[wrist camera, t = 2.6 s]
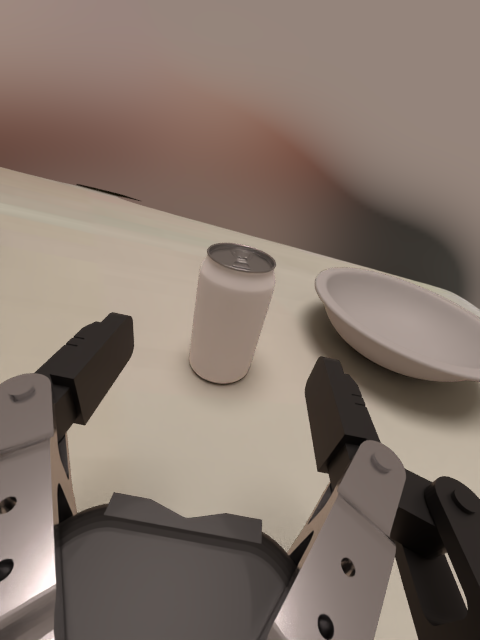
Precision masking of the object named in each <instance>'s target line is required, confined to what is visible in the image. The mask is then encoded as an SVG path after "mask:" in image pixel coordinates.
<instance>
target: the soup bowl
mask: <svg viewBox="0 0 480 640" xmlns="http://www.w3.org/2000/svg"><path fill="white" fill-rule="evenodd" d="M315 289H316V292H317V294H318V296H319V298H320V299H321V301H322V302H323V303H324V307H325V310H326V313H327V315H328V318H329V320H330V321H331V323H332V325H333V326H334V328H335V329H336V331H337V332H338V333H339V335H340V336H341V337H342V338H343V339H344V340H345V341H346V342H347V343H348V344H349V345H350V346H351V347H353V348H354V349H355V350H356V351H357V352H359V353H360V354H362V355H363V356H365V357H366V358H368V359H369V360H371V361H373V362H374V363H376V364H378V365H380V366H382V367H384V368H387V369H389V370H391V371H394V372H396V373H399V374H402V375H405V376H409V377H413V378H417V379H422V380H429V381H439V382H457V381H466V380H470V381H476V382H480V318H479V317H478V316H476V315H475V314H473V313H471V312H470V311H468V310H466V309H465V308H463V307H461V306H460V305H458V304H456V303H454V302H452V301H450V300H448V299H446V298H444V297H442V296H440V295H438V294H436V293H434V292H432V291H430V290H427V289H425V288H423V287H420V286H418V285H415V284H413V283H410V282H407V281H404V280H402V279H399V278H396V277H392V276H389V275H386V274H382V273H378V272H374V271H369V270H364V269H358V268H348V267H336V268H329V269H326V270H323V271H321V272H320V273H319V274H318V275H317V277H316V279H315Z"/></svg>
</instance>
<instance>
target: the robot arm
mask: <svg viewBox="0 0 480 640" xmlns="http://www.w3.org/2000/svg"><path fill="white" fill-rule="evenodd" d="M133 349H134V335H133V319H132V317H131V316H128V315H123V314H118V313H113V312H112V313H110V314H109V315H108V316H107V317H106V318H105V319H104V320H103V321H102V322H94V323H92V324H90V325H87V326H85V327H83V328H82V329H81V330H80V331H79V332H78V333H77V334H76V335H75V336H74V338H71V339H70V340H69V341H68V342H67V343H66V345H64V346H63V347H62V348H61V349H60V350H58V351H57V352H56V353H55V354H54V355H53V356H52V357H51V358H50V359H49V360H48V361H47V362H46V363H44V364H43V365H42V366H41V367H40V368H39V369H38V370H37V371H36V372H35V373H30V374H22V375H19V376H16V377H13V378H10V379H8V380H6V381H5V382H3V383H1V384H0V640H374V636H375V632H376V628H377V625H378V621H379V617H380V613H381V609H382V605H383V601H384V597H385V593H386V589H387V585H388V581H389V577H390V573H391V570H392V566H393V562H394V558H396V561H397V565H398V568H399V572H400V576H401V579H402V583H403V586H404V590H405V593H406V597H407V600H408V604H409V608H410V611H411V615H412V618H413V622H414V625H415V629H416V632H417V636H418V640H480V499H479V498H478V497H477V496H476V495H475V494H474V493H473V492H472V491H471V490H470V489H469V488H468V487H467V486H465V485H464V484H462V483H461V482H459V481H457V480H455V479H453V478H450V477H446V476H442V477H439V478H438V479H436V480H435V481H434V482H430V481H428V480H426V479H424V478H422V477H420V476H418V475H416V474H414V473H412V472H410V471H408V470H407V469H405V468H404V466H403V464H402V462H401V461H400V459H399V458H398V457H397V455H396V454H395V453H394V452H393V451H392V450H391V449H389V448H388V447H387V446H385V445H384V444H382V443H381V442H380V440H379V437H378V435H377V432H376V430H375V427H374V425H373V422H372V420H371V417H370V415H369V412H368V410H367V407H365V402H364V400H363V398H362V395H361V392H360V390H359V387H358V385H357V384H356V383H355V381H354V380H353V379H352V378H351V377H350V375H348V374H344V372H343V369H342V366H341V364H340V362H339V360H335V359H330V358H326V357H319V358H318V360H317V362H316V364H315V366H314V368H313V370H312V372H311V374H310V376H309V378H308V380H307V383H306V387H305V398H306V404H307V410H308V416H309V422H310V428H311V434H312V440H313V447H314V453H315V459H316V465H317V471H318V472H322V473H328V474H329V478H330V482H329V484H328V485H327V487H326V489H325V490H324V492H323V494H322V496H321V497H320V499H319V501H318V503H317V504H316V506H315V508H314V510H313V512H312V513H311V515H310V517H309V519H308V520H307V522H306V524H305V526H304V527H303V529H302V531H301V532H300V534H299V535H298V537H297V538H296V539H295V541H294V542H293V544H292V546H291V547H290V549H289V550H288V552H287V553H286V551H285V550H284V549H283V548H282V547H281V546H280V545H279V544H278V543H277V542H276V541H275V540H273V539H272V538H271V537H269V536H268V535H267V534H265V533H263V532H262V520H260V519H254V518H249V517H244V516H238V515H233V514H228V513H224V514H216V515H209V516H201V517H193V518H185V517H182V516H180V515H179V514H177V513H175V512H173V511H171V510H170V509H168V508H166V507H164V506H162V505H160V504H159V503H157V502H155V501H153V500H151V499H147V498H142V497H136V496H131V495H126V494H120V493H115V492H114V493H113V496H112V498H111V500H110V502H109V504H103V505H99V506H95V507H92V508H89V509H86V510H84V511H81V512H79V513H77V509H76V502H75V497H74V493H73V487H72V479H71V469H70V458H69V448H68V437H67V431H68V429H69V428H70V427H71V425H72V424H73V423H76V424H81V425H86V423H87V422H88V420H89V419H90V417H91V416H92V414H93V413H94V411H95V410H96V408H97V407H98V405H99V404H100V402H101V401H102V399H103V398H104V396H105V395H106V393H107V392H108V390H109V389H110V388H111V386H112V385H113V383H114V382H115V380H116V379H117V377H118V376H119V374H120V373H121V371H122V370H123V368H124V367H125V365H126V364H127V362H128V361H129V359H130V358H131V355H132V353H133ZM445 553H448V555H449V558H450V560H451V562H452V565H453V567H454V570H455V572H456V574H457V577H458V579H459V582H460V584H461V586H462V589H463V591H464V594H465V596H466V600H467V605H468V611H467V608H466V606H465V603H464V601H463V598H462V596H461V594H460V591H459V589H458V586H457V584H456V581H455V579H454V576H453V574H452V571H451V569H450V567H449V564H448V562H447V559H446V557H445Z"/></svg>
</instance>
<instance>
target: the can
mask: <svg viewBox="0 0 480 640" xmlns="http://www.w3.org/2000/svg"><path fill="white" fill-rule="evenodd" d="M207 253H208V255H207V257H206V258H205V259H204V261H203V262H202V264H201V266H200V271H199V278H198V286H197V294H196V302H195V310H194V319H193V327H192V336H191V344H190V354H189V361H190V365H191V367H192V369H193V370H194V371H195V372H196V373H197V374H198V375H199V376H200V377H202V378H203V379H205V380H207V381H210V382H213V383H218V384H227V383H232V382H235V381H238V380H240V379H241V378H243V377H244V376H245V375H246V374H247V372H248V370H249V367H250V364H251V361H252V358H253V355H254V352H255V349H256V346H257V343H258V339H259V336H260V333H261V330H262V327H263V323H264V320H265V317H266V314H267V310H268V307H269V304H270V301H271V297H272V294H273V291H274V287H275V275H274V268H275V267H276V262H275V260H274V259H273V258H272V257H271V256H270V255H268V254H267V253H265V252H263V251H261V250H258V249H256V248H253V247H250V246H246V245H241V244H235V243H218V244H214V245H211V246H210V247H209V248H208V249H207Z"/></svg>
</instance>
